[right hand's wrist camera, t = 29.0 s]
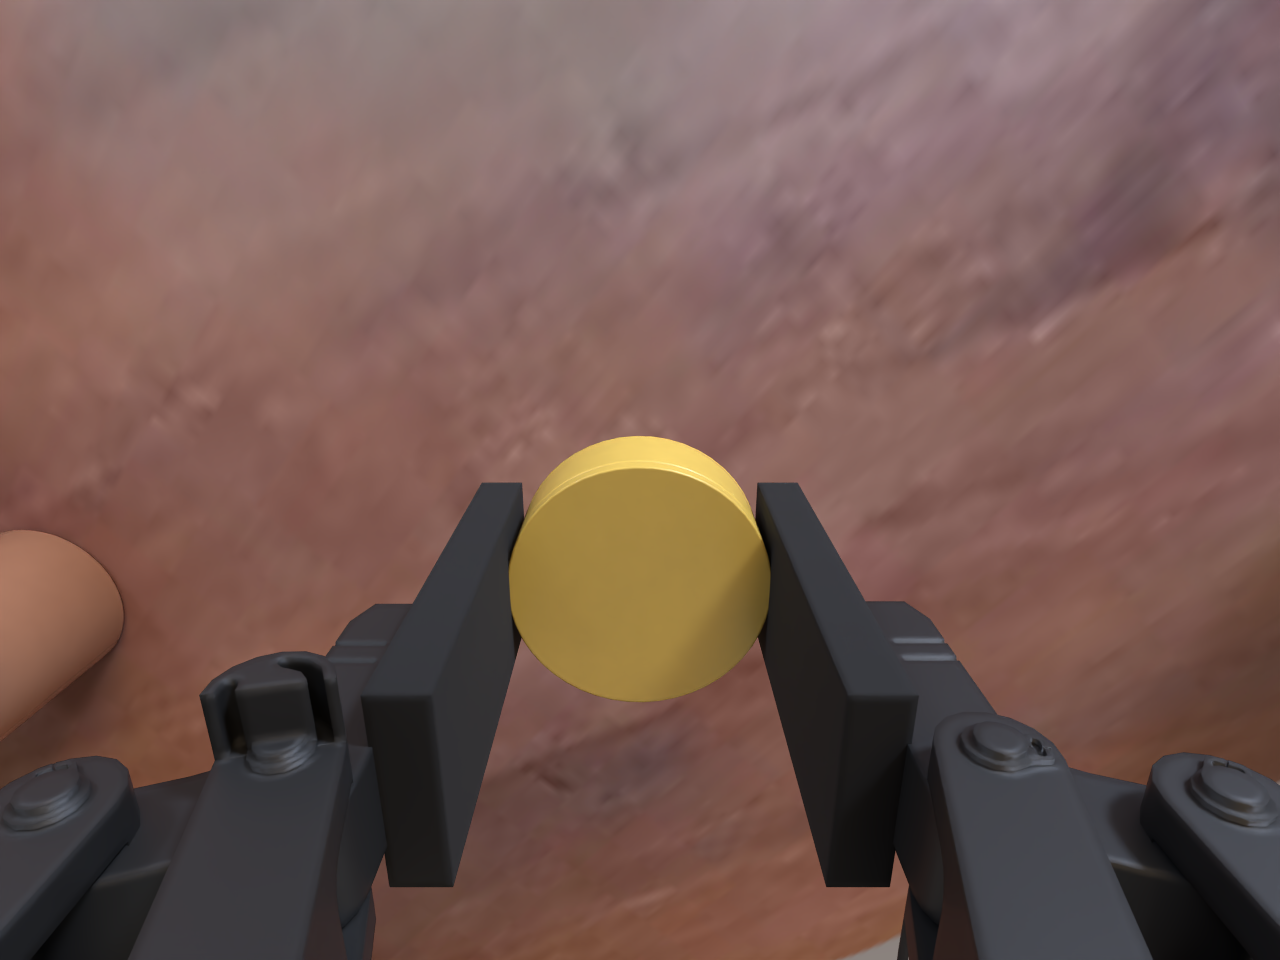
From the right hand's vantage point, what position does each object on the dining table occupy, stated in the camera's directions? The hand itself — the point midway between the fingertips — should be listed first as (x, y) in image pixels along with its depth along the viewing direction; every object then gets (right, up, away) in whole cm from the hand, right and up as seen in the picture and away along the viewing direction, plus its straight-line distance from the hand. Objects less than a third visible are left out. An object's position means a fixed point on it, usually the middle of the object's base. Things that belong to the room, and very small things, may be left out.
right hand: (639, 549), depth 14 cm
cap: (0, -1, -1) cm, 2 cm away
